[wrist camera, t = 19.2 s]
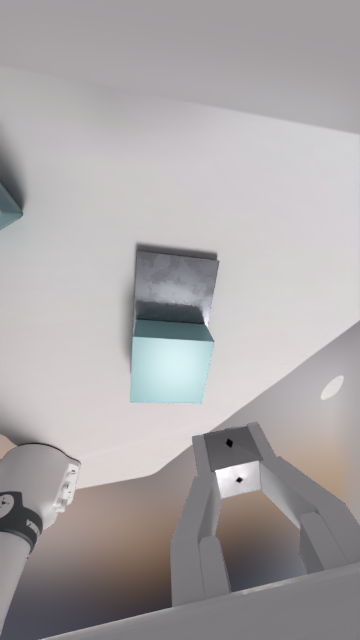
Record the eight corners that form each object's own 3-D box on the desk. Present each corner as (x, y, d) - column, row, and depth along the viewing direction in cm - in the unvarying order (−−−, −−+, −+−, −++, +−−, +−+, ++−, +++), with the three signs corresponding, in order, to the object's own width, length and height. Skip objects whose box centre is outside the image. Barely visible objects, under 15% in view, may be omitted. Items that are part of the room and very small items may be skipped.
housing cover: (195, 379, 42) (201, 403, 36) (133, 377, 41) (130, 402, 35) (205, 324, 38) (214, 341, 32) (136, 319, 36) (132, 336, 30)
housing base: (195, 378, 44) (201, 398, 39) (132, 375, 42) (128, 397, 37) (217, 259, 35) (228, 265, 30) (137, 250, 34) (133, 254, 28)
